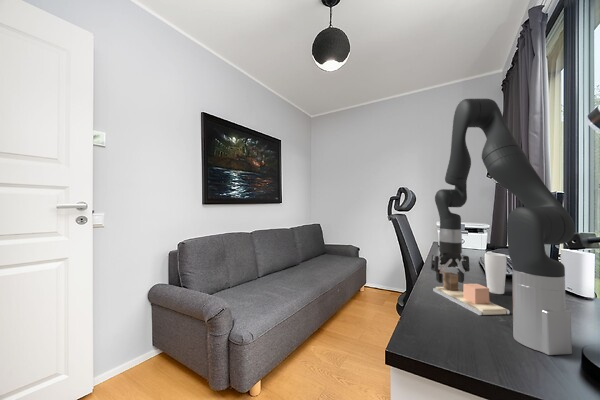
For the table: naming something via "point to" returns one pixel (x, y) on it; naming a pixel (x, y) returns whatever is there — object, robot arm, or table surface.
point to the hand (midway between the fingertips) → (450, 282)
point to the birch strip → (453, 290)
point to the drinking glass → (495, 272)
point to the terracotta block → (476, 293)
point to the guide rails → (462, 302)
